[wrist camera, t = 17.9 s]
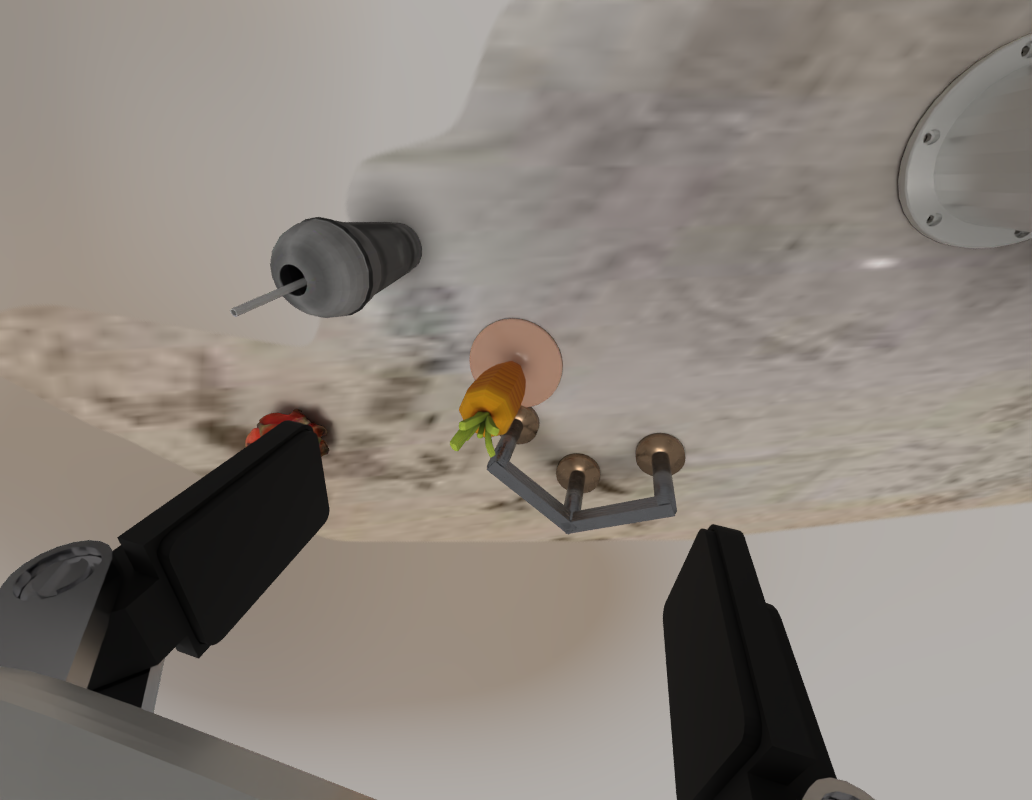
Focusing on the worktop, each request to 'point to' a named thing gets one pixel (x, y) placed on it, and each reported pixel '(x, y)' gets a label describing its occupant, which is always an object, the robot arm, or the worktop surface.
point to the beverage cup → (337, 265)
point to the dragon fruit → (276, 418)
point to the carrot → (491, 404)
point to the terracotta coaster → (520, 355)
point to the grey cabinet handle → (589, 480)
